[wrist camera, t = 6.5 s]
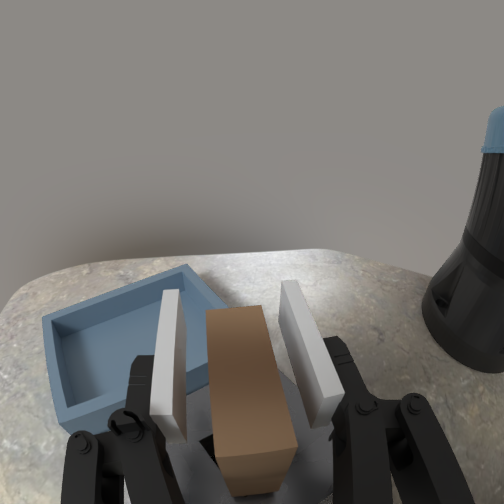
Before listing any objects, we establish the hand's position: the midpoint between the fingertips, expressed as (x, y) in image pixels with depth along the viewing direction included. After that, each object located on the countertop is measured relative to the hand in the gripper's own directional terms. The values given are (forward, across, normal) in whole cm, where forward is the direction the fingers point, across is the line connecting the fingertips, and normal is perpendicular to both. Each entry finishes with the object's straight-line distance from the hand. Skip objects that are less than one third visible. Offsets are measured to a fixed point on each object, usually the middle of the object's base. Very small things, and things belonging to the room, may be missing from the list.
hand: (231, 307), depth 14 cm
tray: (+5, -8, -10) cm, 13 cm away
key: (-5, 0, -10) cm, 11 cm away
